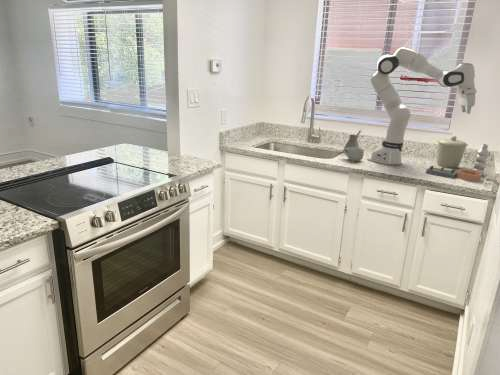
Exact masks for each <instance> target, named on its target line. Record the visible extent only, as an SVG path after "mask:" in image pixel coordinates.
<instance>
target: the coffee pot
mask: <svg viewBox="0 0 500 375" xmlns="http://www.w3.org/2000/svg"><path fill="white" fill-rule="evenodd" d="M361 133H363V131H362V130H359V131H358V132H357V133H356V135H355V134H349V135H348V136H349V139H348V140H347V142H346V144H345V146H344V148H351V147H356V148H360V146H359V142H358V138H359V135H360V134H361ZM344 148H343V149H344ZM345 152H346V153H347V154H348V151H347V149H345Z"/></svg>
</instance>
